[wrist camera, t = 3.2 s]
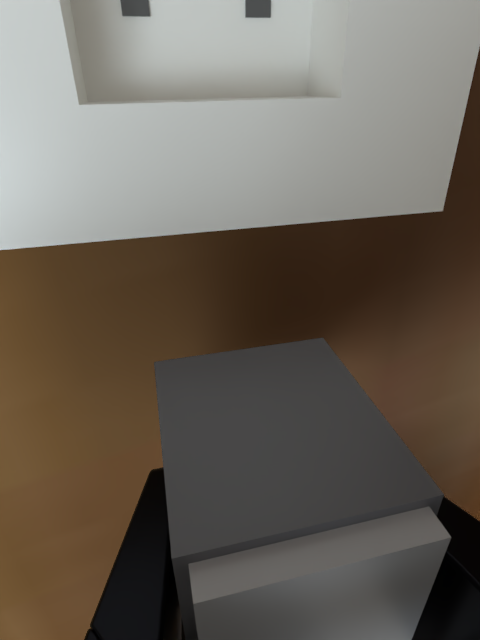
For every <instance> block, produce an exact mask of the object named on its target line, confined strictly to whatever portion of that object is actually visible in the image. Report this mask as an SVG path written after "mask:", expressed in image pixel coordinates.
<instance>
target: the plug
mask: <svg viewBox="0 0 480 640" xmlns="http://www.w3.org/2000/svg"><path fill="white" fill-rule="evenodd" d="M154 366H155V377H156V388H157V400H158V411H159V422H160V433H161V444H162V456H163V467H164V478H165V489H166V501H167V512H168V523H169V534H170V545H171V557H172V563H173V569H174V575H175V581H176V587H177V593H178V599H179V605H180V610H181V616H182V622H183V628H184V634H185V640H412V637H413V635H414V632H415V630H416V627H417V624H418V622H419V619H420V617H421V614H422V612H423V609H424V606H425V604H426V601H427V599H428V596H429V594H430V591H431V589H432V586H433V583H434V581H435V578H436V576H437V573H438V571H439V568H440V565H441V563H442V560H443V558H444V555H445V553H446V550H447V547H448V545H449V542H450V540H451V536H450V535H449V533H448V532H447V530H446V529H445V528H444V526H443V525H442V523H441V522H440V521H439V519H438V518H437V514H438V511H439V508H440V505H441V502H442V499H443V496H444V494H443V493H442V491H441V490H440V489H439V487H438V486H437V485H436V484H435V482H434V481H433V480H432V478H431V477H430V476H429V474H428V473H427V472H426V471H425V469H424V468H423V467H422V465H421V464H420V463H419V462H418V460H417V459H416V458H415V456H414V455H413V454H412V452H411V451H410V450H409V449H408V447H407V446H406V445H405V443H404V442H403V441H402V440H401V438H400V437H399V436H398V434H397V433H396V432H395V430H394V429H393V428H392V427H391V425H390V424H389V423H388V421H387V420H386V419H385V417H384V416H383V415H382V414H381V412H380V411H379V410H378V408H377V407H376V406H375V405H374V403H373V402H372V401H371V399H370V398H369V397H368V395H367V394H366V393H365V392H364V390H363V389H362V388H361V386H360V385H359V384H358V382H357V381H356V380H355V379H354V377H353V376H352V375H351V373H350V372H349V371H348V370H347V368H346V367H345V366H344V364H343V363H342V362H341V360H340V359H339V358H338V357H337V355H336V354H335V353H334V351H333V350H332V349H331V348H330V346H329V345H328V344H327V342H326V341H325V340H324V338H317V339H310V340H303V341H296V342H289V343H282V344H275V345H269V346H262V347H255V348H248V349H241V350H234V351H227V352H220V353H213V354H206V355H199V356H192V357H185V358H178V359H171V360H164V361H158V362H154Z"/></svg>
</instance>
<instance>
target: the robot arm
mask: <svg viewBox="0 0 480 640" xmlns="http://www.w3.org/2000/svg"><path fill="white" fill-rule="evenodd" d="M437 518H438V519H439V521H440V522H441V523H442V525H443V526H444V528H445V529H446V530H447V532H448V533H449V535H450V536H451V540H450V542H449V545H448V547H447V550H446V553H445V555H444V558H443V560H442V563H441V565H440V568H439V571H438V573H437V576H436V578H435V581H434V583H433V586H432V589H431V591H430V594H429V596H428V599H427V601H426V604H425V606H424V609H423V612H422V614H421V617H420V619H419V622H418V624H417V627H416V630H415V632H414V635H413V637H412V640H480V521H478V520H477V519H476V518H474V517H473V516H471V515H470V514H468V513H467V512H465V511H464V510H463V509H461V508H460V507H458V506H457V505H455V504H454V503H452V502H451V501H450V500H448V499H447V498H445V497H444V496H443V499H442V502H441V505H440V508H439V511H438V514H437ZM90 627H91V629H89V630H88V631H87V633H86V636H85V639H84V640H185V634H184V628H183V622H182V616H181V610H180V605H179V599H178V593H177V587H176V581H175V575H174V569H173V563H172V557H171V545H170V534H169V523H168V512H167V501H166V489H165V478H164V467H163V468H158V469H153V470H151V471H150V473H149V475H148V478H147V481H146V483H145V486H144V488H143V491H142V493H141V496H140V498H139V501H138V504H137V506H136V509H135V511H134V514H133V516H132V519H131V521H130V524H129V527H128V529H127V532H126V534H125V537H124V539H123V542H122V544H121V547H120V550H119V552H118V555H117V557H116V560H115V562H114V565H113V568H112V570H111V573H110V575H109V578H108V580H107V583H106V585H105V588H104V591H103V593H102V596H101V598H100V601H99V603H98V606H97V608H96V611H95V614H94V616H93V619H92V621H91V624H90Z"/></svg>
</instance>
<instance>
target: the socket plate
mask: <svg viewBox="0 0 480 640" xmlns="http://www.w3.org/2000/svg"><path fill="white" fill-rule="evenodd" d="M479 47H480V0H0V250H7V249H18V248H29V247H41V246H52V245H63V244H75V243H86V242H97V241H109V240H120V239H131V238H143V237H154V236H165V235H177V234H188V233H199V232H211V231H222V230H233V229H245V228H256V227H267V226H279V225H290V224H302V223H313V222H324V221H336V220H347V219H358V218H370V217H381V216H392V215H404V214H415V213H426V212H438V211H443V208H444V203H445V199H446V194H447V190H448V185H449V181H450V176H451V172H452V168H453V163H454V159H455V154H456V150H457V145H458V141H459V136H460V132H461V127H462V123H463V119H464V114H465V110H466V105H467V101H468V96H469V92H470V87H471V83H472V78H473V74H474V70H475V65H476V61H477V56H478V52H479Z"/></svg>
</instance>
